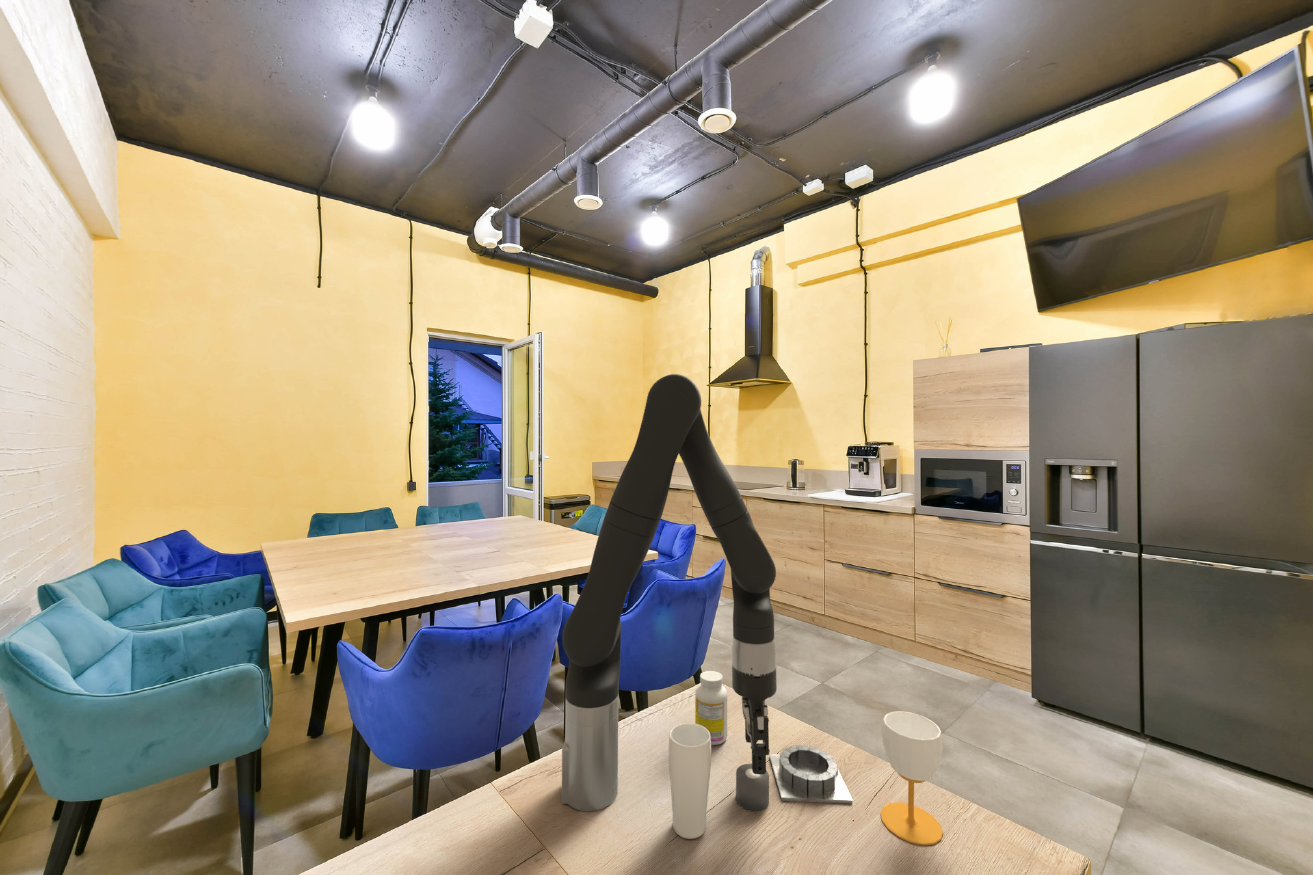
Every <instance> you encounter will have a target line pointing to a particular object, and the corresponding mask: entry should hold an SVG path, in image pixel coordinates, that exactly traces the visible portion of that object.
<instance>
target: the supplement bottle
mask: <svg viewBox="0 0 1313 875" xmlns="http://www.w3.org/2000/svg"><path fill="white" fill-rule="evenodd" d="M699 677H700V678H699V679H700V680H699V682H700V684H699V685H698V686H697V687H696V689H695V696H694V697H695V699H694V700H695V702H694V704H695V718H694V719H695V720H694V722H695V723H694V724H698V725H701V726H703V727H705V728H706V729H707V730H708V731H709V732H710V735H711V746H719V745H721V744H723V743H724V742H725V741H726V740H727V738H728V691H727V689H726V687H725V686H724V685H723V682H724V679H723V678H724V677H723V674H722V673H720V672H719V671H713V670H706V671H703V672H701V673H700V675H699Z"/></svg>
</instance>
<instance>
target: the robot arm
mask: <svg viewBox="0 0 1313 875" xmlns="http://www.w3.org/2000/svg"><path fill="white" fill-rule="evenodd" d="M701 409H702V396H701V392H700V389H699V388H698V387H697V384H696V383H695V382H694V381H693V380H691V379H690V378H689V377H687V376H685V375H682V374H678V373H677V374H676V373H675V374H674V373H672V374H668V375H667V374H666V375H664V376H662V377H661V378H659V379H657V380H656V381H655V382H654V383H653V384H652V386H651V387H650V388H649V391H648V393H647V397H646V401H645V406H644V410H643V411H644V412H643V416H642V420H641V423H640V428H639V431H638V434H637V438H636V441H635V444H634V447H633V450H632V452H631V454H630V457H629V458H628V460H627V462H626V464H625V467H624V469H623V470H622V473H621V475H620V477H619V479H618V481H617V484H616V486H615V489H614V491H613V494H612V495H611V498H610V500H609V501H610V502H609V504H608V506H607V510H606V513H605V515H604V517H603V520H602V524H601V528H600V531H599V534H598V538H597V540H596V545H595V547H594V552H593V556H592V559H591V563H590V568H589V570H588V574H587V577H586V580H585V583H584V585H583V588H582V590H581V592H580V594H579V595H578V596H579V597H578V599H577V601H576V603H575V605H574V607H573V609H572V612H571V613H570V615H569V617H568V619H567V620H566V622H565V623H564V625H563V626H564V627H563V630H562V646H563V650H564V652H565V654H566V656H567V658H568V659H569V663H568V670H567V674H566V680H565V693H564V694H565V724H564V725H565V728H564V730H565V732H564V733H565V734H564V736H565V737H564V740H563V741H564V742H563V745H562V747H561V804H563V805H565V804H566V805H568V806H570V807H572V809H575V810H578V811H583V812H595V811H599V810H602V809H604V808H606V807H607V806H610V805H611V804H612V803H613V802H614V801H615V799H616V798H617V795H618V787H619V785H618V784H619V776H618V775H619V687H620V685H619V683H620V675H621V653H622V651H621V650H622V648H621V647H622V646H621V645H622V621H621V616H622V613H623V609H624V606H625V603H626V600H627V597H628V595H629V591H630V589H631V587H632V585H633V583H634V581H635V579H636V577H637V575H638V573H639V571H640V570H641V568H642V565H643V563H644V561H645V559H646V557H647V554H648V553H649V550H650V548H651V546H652V544H653V541H654V539H655V535H656V533H657V530H658V528H659V524H660V522H661V519H662V517H663V514H664V513H663V512H664V510H665V506H666V503H667V499H668V495H669V490H670V487H671V482H672V476H673V472H674V467H675V465H676V462H677V459H678V456H679V457H680V459H681V461H682V463H683V465H684V467H685V469H686V472H687V475H688V477H689V479H690V482H691V484H692V487H693V488H692V489H694V492H695V495H696V498H697V500H698V503H699V505H700V507H701V509H702V511H703V514H704V516H705V518H706V519H707V522H708V524H709V526H710V527H711V530H712V532H713V533H714V535H715V537H716V538H717V540H718V542H719V543H720V546H721V548H722V550H723V553H724V555H725V558H726V560H727V563H728V565H729V567H730V577H731V578H730V579H731V589H732V598H733V608H732V609H733V612H732V643H731V644H732V645H731V682H732V684H731V686H732V690H733V691H734V692H735V693H736V694H737V695H738V696H739V697H741V704H742V706H741V708H742V709H741V710H742V715H743V718H744V727H745V728H744V730H745V732H744V733H745V734H744V738H745V742H746V743H748V744H750V750H751V764H752V771H753V773H754V774H765V773H766V771H767V756H769V754H771V753H770V752H771V751H770V740H769V738H770V737H769V731H770V729H769V722H770V719H769V716H768V715H769V709H768V704H766V700H767V699H770V698H772V697H773V696H774V695H776V692H777V685H778V684H777V649H776V642H775V614H774V609H773V606H772V601H771V590H770V589H771V588H772V587H773V584H774V583H775V581H776V577H777V568H776V565H775V562H774V560H773V558H772V556H771V554H770V553H769V551H768V549H767V547H766V545H765V543H764V542H763V539H762V537H761V536H760V534H759V532H758V531H757V529H756V527H755V525H754V523H753V520H752V517H751V514H750V513H749V512H750V511H749V510H748V507H747V506H746V504H745V501H744V500H743V497H742V495H741V492H740V491H739V489H738V487H737V485H736V483H735V481H734V479H733V478H732V476H731V474H730V472H729V471H728V469H727V468H726V466H725V464H724V462H723V461H722V459H721V457H720V455H719V454H718V452H717V450H716V448H715V446H714V444H713V442H712V439H711V437H710V435H709V432H708V430H707V426H706V424H705V420H704V416H703V413H702V410H701ZM758 741H762V743H758Z"/></svg>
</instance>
